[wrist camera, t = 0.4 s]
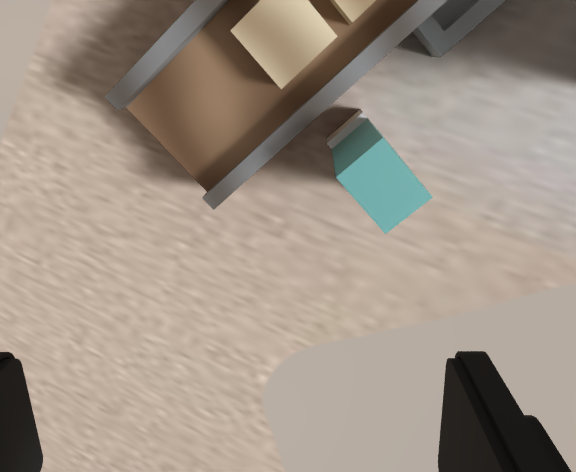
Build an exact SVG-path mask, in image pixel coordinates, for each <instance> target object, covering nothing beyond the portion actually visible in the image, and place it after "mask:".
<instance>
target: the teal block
mask: <svg viewBox="0 0 576 472" xmlns="http://www.w3.org/2000/svg"><path fill="white" fill-rule="evenodd" d="M326 142H327V145H328V146H329V147H330V148H331V149H332V155H333V162H334V168H335V175H336V178H337V179H338V180H339V182H340V183H341V184H342V185H343V186H344V187H345V188H346V190H347V191H348V192H349V193H350V194H351V195H352V196H353V198H354V199H355V200H356V201H357V202H358V203H359V204H360V205H361V207H362V208H363V209H364V210H365V211H366V212H367V213H368V215H369V216H370V217H371V218H372V219H373V220H374V221H375V222H376V224H377V225H378V226H379V227H380V228H381V229H382V230H383V232H384V233H385V234H386V233H387V232H389V231H390V230H391V229H393V228H394V227H395V226H396V225H398V224H399V223H400V222H402V221H403V220H404V219H405V218H407V217H408V216H409V215H411V214H412V213H413V212H414V211H416V210H417V209H418V208H420V207H421V206H422V205H423V204H425V203H426V202H427V201H429V200H430V199H431V198H432V196H431V195H430V193H429V192H428V191H427V190H426V189H425V187H424V186H423V185H422V184H421V182H420V181H419V180H418V179H417V177H416V176H415V175H414V174H413V172H412V171H411V170H410V168H409V167H408V166H407V165H406V163H405V162H404V161H403V160H402V159H401V157H400V156H399V155H398V154H397V153H396V151H395V150H394V149H393V148H392V147H391V145H390V144H389V143H388V142H387V141H386V139H385V138H384V137H383V136H382V135H381V133H380V132H379V131H378V130H377V129H376V127H375V126H374V125H373V124H372V123H371V121H370V120H369V119H368V118H367V117H366V115H365V114H364V113H363V112H362V111H361V109H360V110H358V111H357V112H356V113H355V114H354V115H353V116H352V117H350V118H349V119H348V120H347V121H346V122H345V123H344V124H343V125H341V126H340V127H339V128H338V129H337V130H336V131H335V132H333V133H332V134H331V135H330V136H329V137H328V138H327V139H326Z"/></svg>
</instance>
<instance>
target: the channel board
mask: <svg viewBox="0 0 576 472" xmlns="http://www.w3.org/2000/svg"><path fill="white" fill-rule="evenodd" d="M259 1H260V0H195V1H194V2H193V3H192V4H191V5H190V6H189V7H188V9H187V10H186V11H185V12H184V13H183V14H182V15H181V16H180V17H179V18H178V19H177V20H176V21H175V22H174V23H173V25H172V26H171V27H170V28H169V29H168V30H167V31H166V32H165V33H164V34H163V35H162V36H161V37H160V38H159V39H158V41H157V42H156V43H155V44H154V45H153V46H152V47H151V48H150V49H149V50H148V51H147V52H146V53H145V54H144V55H143V57H142V58H141V59H140V60H139V61H138V62H137V63H136V64H135V65H134V66H133V67H132V68H131V69H130V70H129V71H128V73H127V74H126V75H125V76H124V77H123V78H122V79H121V80H120V81H119V82H118V83H117V84H116V85H115V86H114V87H113V89H112V90H111V91H110V92H109V93H108V94H107V95H106V96H105V98H106V99H107V100H108V101H109V102H110V103H111V104H112V105H113V107H114V108H115V109H116V110H121V109H124V108H127V109H128V110H129V111H130V112H131V113H132V114H133V115H134V116H135V117H136V118H137V119H138V120H139V121H140V122H141V124H142V125H143V126H144V127H145V128H146V129H147V130H148V131H149V132H150V133H151V134H152V135H153V136H154V137H155V138H156V139H157V140H158V141H159V142H160V143H161V144H162V145H163V146H164V147H165V148H166V149H167V151H168V152H169V153H170V154H171V155H172V156H173V157H174V158H175V159H176V160H177V161H178V162H179V163H180V164H181V165H182V166H183V167H184V168H185V169H186V170H187V171H188V172H189V173H190V174H191V175H192V176H193V178H194V179H195V180H196V181H197V182H198V183H199V184H200V185H201V186H202V187H203V188H204V189H205V190H206V191H207V193H206V194H205V195H204V196H203V199H204V200H205V201H206V202H207V203H208V204H209V206H210V207H211V208H212V209H213V210H214V209H215V208H216V207H217V206H219V205H220V204H221V203H222V202H223V201H224V200H225V199H226V198H227V197H229V196H230V195H231V194H232V193H233V192H234V191H235V190H236V189H237V188H239V187H240V186H241V185H242V184H243V183H244V182H245V181H246V180H248V179H249V178H250V177H251V176H252V175H253V174H254V173H255V172H256V171H258V170H259V169H260V168H261V167H262V166H263V165H264V164H265V163H266V162H268V161H269V160H270V159H271V158H272V157H273V156H274V155H275V154H276V153H278V152H279V151H280V150H281V149H282V148H283V147H284V146H285V145H287V144H288V143H289V142H290V141H291V140H292V139H293V138H294V137H295V136H297V135H298V134H299V133H300V132H301V131H302V130H303V129H304V128H305V127H307V126H308V125H309V124H310V123H311V122H312V121H313V120H314V119H316V118H317V117H318V116H319V115H320V114H321V113H322V112H323V111H324V110H326V109H327V108H328V107H329V106H330V105H331V104H332V103H333V102H334V101H336V100H337V99H338V98H339V97H340V96H341V95H342V94H343V93H344V92H346V91H347V90H348V89H349V88H350V87H351V86H352V85H353V84H355V83H356V82H357V81H358V80H359V79H360V78H361V77H362V76H363V75H365V74H366V73H367V72H368V71H369V70H370V69H371V68H372V67H373V66H375V65H376V64H377V63H378V62H379V61H380V60H381V59H382V58H384V57H385V56H386V55H387V54H388V53H389V52H390V51H391V50H392V49H394V48H395V47H396V46H397V45H398V44H399V43H400V42H401V41H402V40H404V39H405V38H406V37H407V36H408V35H409V34H410V33H411V32H413V31H414V30H415V29H416V28H417V27H418V26H419V25H420V24H421V23H423V22H424V21H425V20H426V19H427V18H428V17H429V16H430V15H431V14H433V13H434V12H435V11H436V10H437V9H438V8H439V7H440V6H441V5H443V4H444V3H445V2H446V1H447V0H376V1H375V2H374V3H373V4H372V5H371V6H370V7H368V8H367V9H366V10H365V11H364V12H363V13H362V14H361V15H360V16H359V17H358V18H357V19H356V20H355V21H354V22H352V23H351V24H350V25H349V24H348V23H347V21H346V20H345V19H344V18H343V16H342V15H341V14H340V13H339V11H338V10H337V9H336V8H335V6H334V5H333V4H332V3H331V1H330V0H308V1H309V2H310V3H311V4H312V6H313V7H314V8H315V9H316V10H317V12H318V13H319V14H320V15H321V17H322V18H323V19H324V20H325V22H326V23H327V24H328V25H329V26H330V28H331V29H332V30H333V31H334V33H335V34H336V35H337V36H338V37H336V38H335V39H334V40H333V41H332V42H331V43H330V44H329V45H328V46H327V47H326V48H325V49H324V50H323V51H322V52H321V53H319V54H318V55H317V56H316V57H315V58H314V59H313V60H312V61H311V62H310V63H309V64H308V65H307V66H306V67H305V68H303V69H302V70H301V71H300V72H299V73H298V74H297V75H296V76H295V77H294V78H293V79H292V80H291V81H290V82H289V83H288V84H286V85H285V86H284V87H283V88H282V89H281V88H280V87H279V86H278V85H277V84H276V83H275V82H274V80H273V79H272V78H271V77H270V76H269V75H268V74H267V72H266V71H265V70H264V69H263V68H262V67H261V65H260V64H259V63H258V62H257V61H256V60H255V59H254V57H253V56H252V55H251V54H250V53H249V52H248V50H247V49H246V48H245V47H244V46H243V45H242V44H241V42H240V41H239V40H238V39H237V38H236V37H235V35H234V34H233V33H232V32H231V30H232V28H233V27H234V26H235V25H236V24H237V23H238V22H239V21H240V20H241V19H242V18H243V17H244V16H245V15H246V14H247V13H248V12H249V11H250V10H251V9H252V8H253V7H254V6H255V5H256V4H257V3H258V2H259Z"/></svg>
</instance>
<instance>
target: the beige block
mask: <svg viewBox="0 0 576 472" xmlns="http://www.w3.org/2000/svg"><path fill="white" fill-rule="evenodd" d="M330 1H331V3H332V4H333V5H334V6H335V8H336V9H337V10H338V11H339V13H340V14H341V15H342V16H343V18H344V19H345V20H346V21H347V23H348V24H349V25H350V24H351V23H352V22H354V21H355V20H356V19H357V18H358V17H359V16H360V15H361V14H362V13H363V12H364V11H365V10H366V9H367V8H368V7H370V6H371V5H372V4H373V3H374V2H375V1H376V0H330Z"/></svg>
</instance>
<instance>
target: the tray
mask: <svg viewBox="0 0 576 472" xmlns="http://www.w3.org/2000/svg"><path fill="white" fill-rule="evenodd" d="M505 1H506V0H447V1H446V2H445V3H444V4H443V5H441V6H440V7H439V8H438V9H437V10H436V11H435V12H434V13H433V14H431V15H430V16H429V17H428V18H427V19H426V20H425V21H424V22H423V23H421V24H420V25H419V26H418V27H417V28H416V29H415V30H414V31H413V33H414V35H415V36H416V37H417V38H418V40H419V41H420V42H421V44H422V45H423V46H424V48H425V49H426V50H427V51H428V53H429V54H430V55H431V57H441V56H442V55H443V54H444V53H446V52H447V51H448V50H449V49H450V48H451V47H453V46H454V45H455V44H456V43H457V42H458V41H460V40H461V39H462V38H463V37H464V36H465V35H466V34H468V33H469V32H470V31H471V30H472V29H473V28H475V27H476V26H477V25H478V24H479V23H480V22H481V21H483V20H484V19H485V18H486V17H487V16H488V15H490V14H491V13H492V12H493V11H494V10H495V9H497V8H498V7H499V6H500V5H501V4H502V3H503V2H505Z"/></svg>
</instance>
